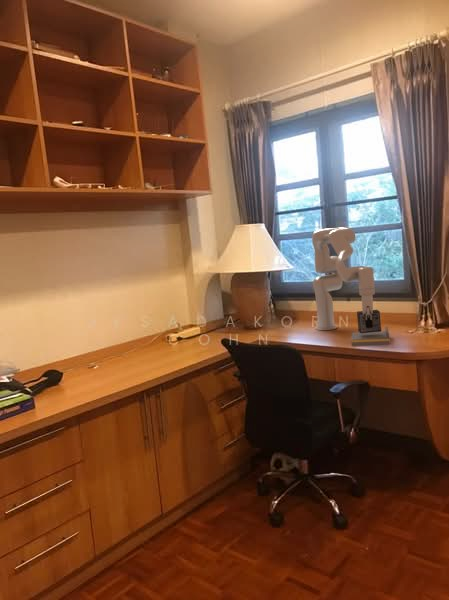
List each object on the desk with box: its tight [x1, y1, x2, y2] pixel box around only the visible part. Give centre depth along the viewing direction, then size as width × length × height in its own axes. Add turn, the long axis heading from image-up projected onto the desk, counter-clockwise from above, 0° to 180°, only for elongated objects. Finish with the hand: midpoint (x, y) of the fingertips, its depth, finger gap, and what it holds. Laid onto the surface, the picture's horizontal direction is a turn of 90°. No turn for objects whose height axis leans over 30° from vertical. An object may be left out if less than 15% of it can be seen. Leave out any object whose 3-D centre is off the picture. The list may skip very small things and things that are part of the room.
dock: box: [350, 326, 391, 346], centre depth 245 cm, size 16×18×5 cm
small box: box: [356, 309, 382, 333], centre depth 245 cm, size 11×6×10 cm, turn 84°
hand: (369, 325), depth 245 cm, fingers closed on small box, 7 cm apart
